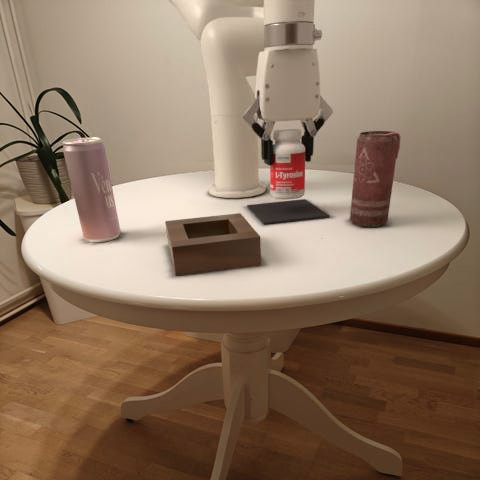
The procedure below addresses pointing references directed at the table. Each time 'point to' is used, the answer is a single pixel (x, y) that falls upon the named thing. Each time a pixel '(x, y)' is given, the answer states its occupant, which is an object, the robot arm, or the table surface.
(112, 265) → the table surface
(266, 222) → the coaster
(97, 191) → the beverage can
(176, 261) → the holder
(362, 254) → the table surface
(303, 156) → the pill bottle
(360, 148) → the can
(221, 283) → the table surface
